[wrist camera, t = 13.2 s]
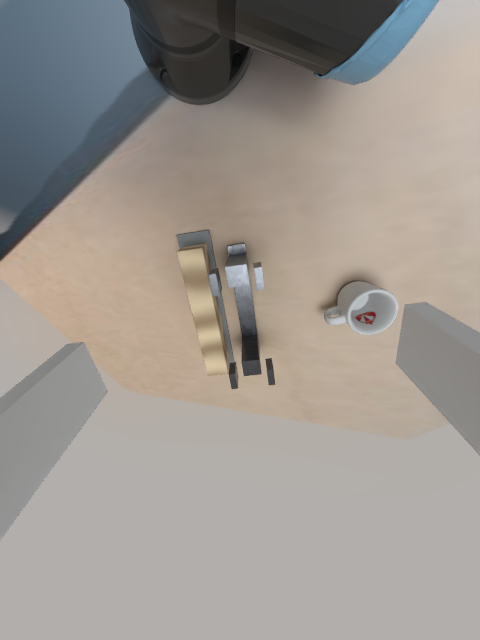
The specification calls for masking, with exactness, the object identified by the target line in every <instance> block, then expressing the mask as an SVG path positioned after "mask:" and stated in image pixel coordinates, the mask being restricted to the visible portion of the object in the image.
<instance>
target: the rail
mask: <svg viewBox="0 0 480 640" xmlns="http://www.w3.org/2000/svg"><path fill="white" fill-rule="evenodd" d="M177 254H178V258H179V262H180V266H181V270H182V274H183V278H184V282H185V286H186V290H187V294H188V298H189V302H190V306H191V310H192V314H193V318H194V322H195V326H196V330H197V334H198V338H199V342H200V346H201V350H202V354H203V358H204V362H205V366H206V370H207V374H208V376H212V375H221V374H228V370H229V360H230V359H229V354H228V349H227V344H226V338H225V333H224V328H223V323H222V318H221V313H220V308H219V303H218V298H217V296H212V291H211V286H210V281H209V276H208V274H209V272H210V270H211V269H212V268H211V263H210V258H209V253H208V248H207V243H206V244H200V245H193V246H187V247H183V248H182V249H180V250H179V251H178V252H177Z"/></svg>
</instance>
